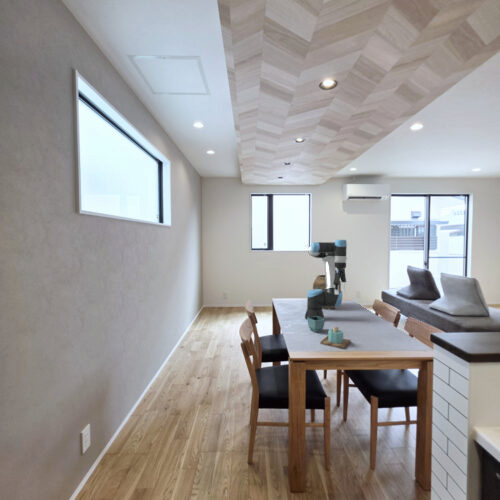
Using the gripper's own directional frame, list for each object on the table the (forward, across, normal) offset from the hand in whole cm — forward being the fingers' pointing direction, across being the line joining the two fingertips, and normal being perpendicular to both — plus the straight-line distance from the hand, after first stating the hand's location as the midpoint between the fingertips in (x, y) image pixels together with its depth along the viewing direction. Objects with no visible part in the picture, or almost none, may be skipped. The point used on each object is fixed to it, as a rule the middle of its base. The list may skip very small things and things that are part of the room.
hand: (339, 292), depth 186 cm
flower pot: (+27, -10, +13) cm, 31 cm away
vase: (+27, +59, +29) cm, 71 cm away
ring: (+25, -24, -5) cm, 35 cm away
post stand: (+26, -24, -5) cm, 36 cm away
